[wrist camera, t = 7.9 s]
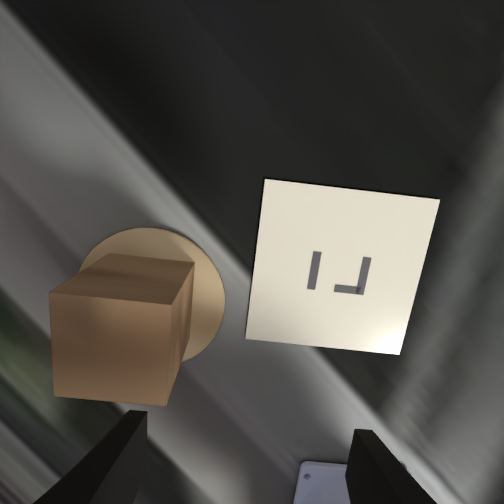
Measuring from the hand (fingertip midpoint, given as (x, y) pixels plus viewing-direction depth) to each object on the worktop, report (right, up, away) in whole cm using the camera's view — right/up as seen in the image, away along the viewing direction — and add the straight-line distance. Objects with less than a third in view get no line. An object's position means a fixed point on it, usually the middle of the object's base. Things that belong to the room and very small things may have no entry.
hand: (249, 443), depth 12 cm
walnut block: (-6, +4, +9) cm, 11 cm away
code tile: (+5, +5, +9) cm, 11 cm away
